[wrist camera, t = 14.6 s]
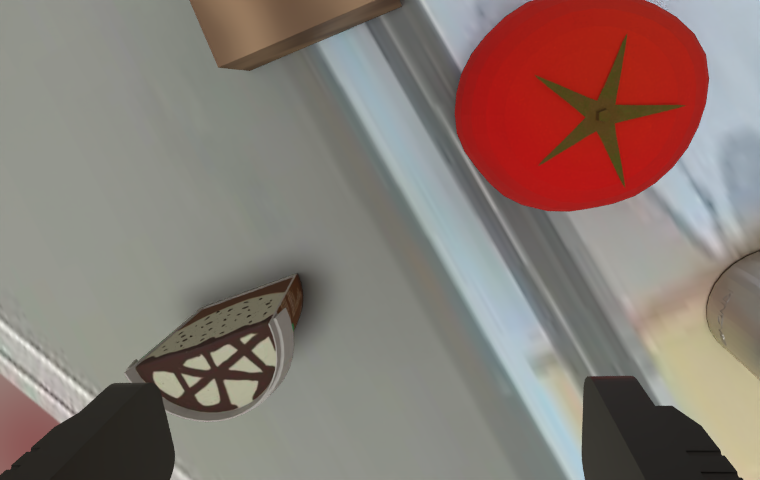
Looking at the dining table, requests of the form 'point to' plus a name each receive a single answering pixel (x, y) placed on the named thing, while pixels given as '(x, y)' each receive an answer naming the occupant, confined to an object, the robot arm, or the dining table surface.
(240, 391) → the food container
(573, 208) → the tomato
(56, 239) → the dining table surface
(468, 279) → the dining table surface
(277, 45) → the walnut block
